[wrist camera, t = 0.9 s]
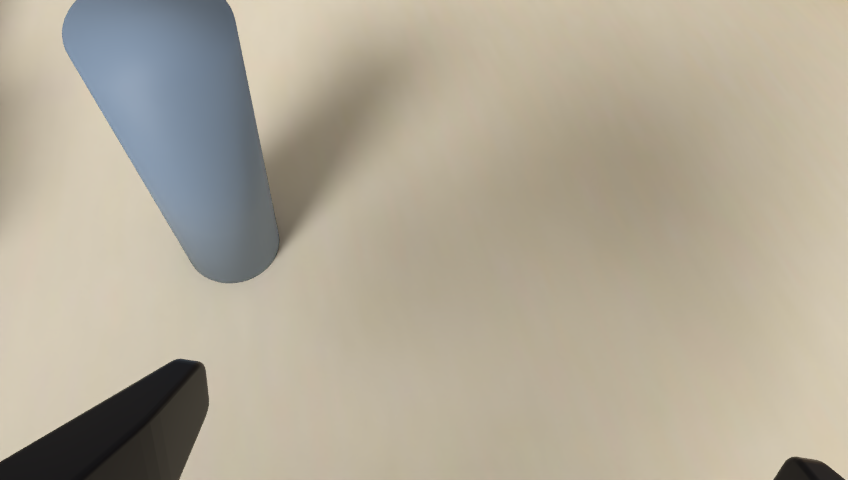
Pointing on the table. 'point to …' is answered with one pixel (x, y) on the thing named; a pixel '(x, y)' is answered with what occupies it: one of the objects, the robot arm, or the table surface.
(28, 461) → the robot arm
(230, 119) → the stool leg
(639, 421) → the table surface
